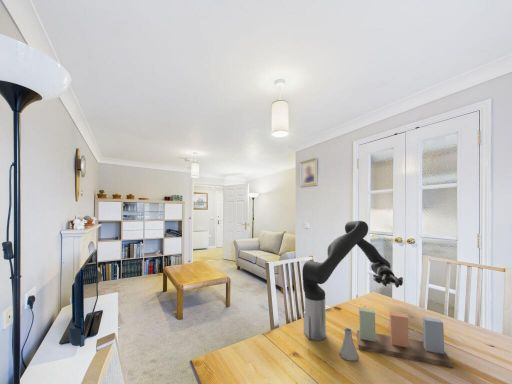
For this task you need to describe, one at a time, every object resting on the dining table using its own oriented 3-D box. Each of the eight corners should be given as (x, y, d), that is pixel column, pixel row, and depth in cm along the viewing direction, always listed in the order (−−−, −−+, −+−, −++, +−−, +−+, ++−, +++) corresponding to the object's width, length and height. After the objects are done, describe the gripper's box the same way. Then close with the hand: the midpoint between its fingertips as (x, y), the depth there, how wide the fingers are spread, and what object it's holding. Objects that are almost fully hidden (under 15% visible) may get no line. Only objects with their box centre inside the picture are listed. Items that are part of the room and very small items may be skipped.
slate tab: (426, 350, 93) (425, 320, 94) (423, 346, 96) (422, 316, 97) (444, 354, 91) (443, 322, 92) (441, 349, 94) (440, 319, 95)
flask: (357, 351, 96) (357, 326, 96) (359, 363, 89) (358, 336, 90) (339, 348, 98) (338, 323, 99) (339, 359, 92) (338, 333, 92)
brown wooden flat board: (358, 349, 98) (358, 344, 98) (356, 334, 109) (356, 330, 109) (452, 367, 87) (452, 362, 87) (440, 348, 98) (440, 344, 98)
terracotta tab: (391, 344, 97) (390, 315, 98) (390, 340, 100) (389, 312, 101) (408, 347, 95) (407, 317, 96) (406, 343, 98) (405, 314, 99)
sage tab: (360, 338, 102) (359, 310, 102) (359, 335, 104) (359, 307, 105) (375, 341, 100) (374, 312, 100) (374, 337, 102) (374, 309, 103)
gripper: (370, 266, 130) (374, 275, 114) (400, 268, 125) (408, 278, 109) (370, 280, 129) (375, 291, 113) (400, 283, 125) (409, 294, 108)
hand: (391, 284), depth 111 cm, fingers open, 4 cm apart
